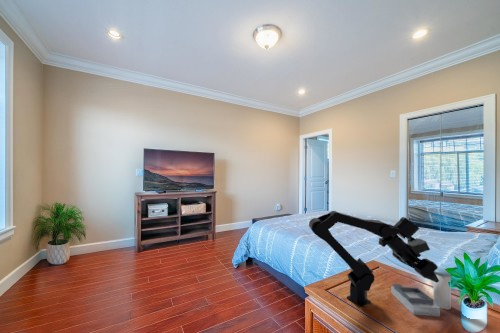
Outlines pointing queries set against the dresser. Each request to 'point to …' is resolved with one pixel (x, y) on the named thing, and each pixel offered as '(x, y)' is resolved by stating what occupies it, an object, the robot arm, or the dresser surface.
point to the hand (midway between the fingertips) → (428, 275)
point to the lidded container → (442, 289)
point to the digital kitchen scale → (415, 300)
